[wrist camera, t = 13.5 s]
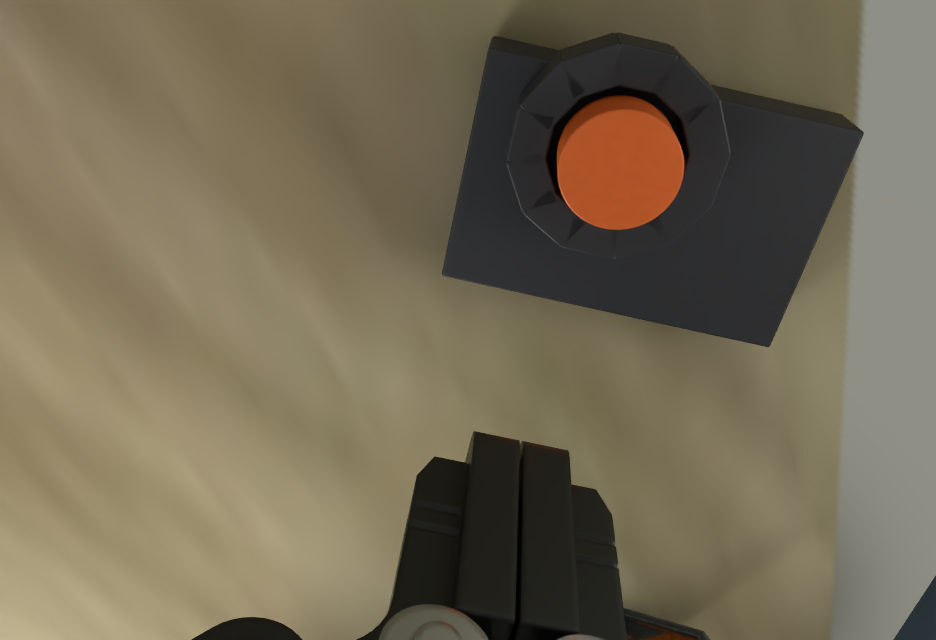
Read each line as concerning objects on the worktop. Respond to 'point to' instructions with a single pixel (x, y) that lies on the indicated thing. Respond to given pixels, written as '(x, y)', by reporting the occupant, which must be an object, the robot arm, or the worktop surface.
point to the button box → (682, 223)
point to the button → (619, 162)
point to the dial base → (921, 618)
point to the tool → (658, 628)
